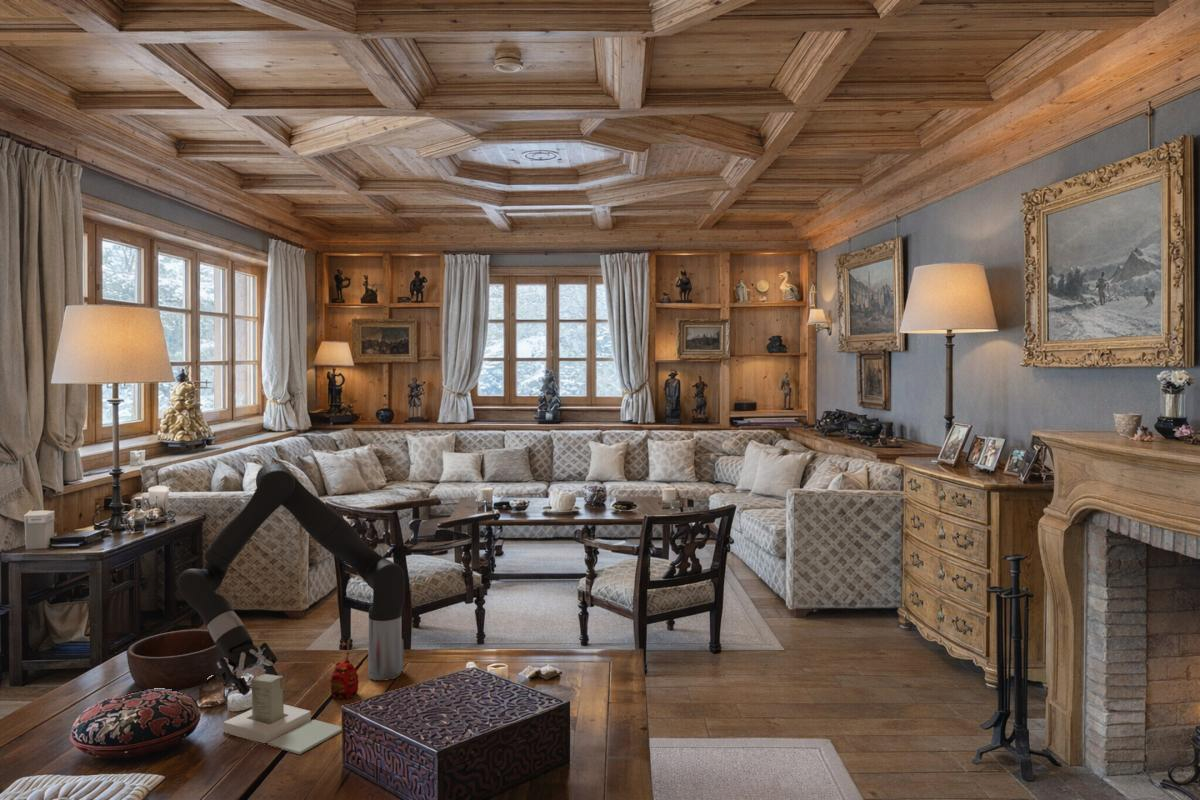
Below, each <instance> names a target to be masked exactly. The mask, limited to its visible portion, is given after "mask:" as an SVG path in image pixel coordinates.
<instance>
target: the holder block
mask: <svg viewBox="0 0 1200 800" xmlns="http://www.w3.org/2000/svg"><path fill="white" fill-rule="evenodd" d="M311 713H312V711H311V710H307V709H304V708H300V707H296V706H292V705H290V704H289V705H288V704H285V703H284V718H282V719H280V720H278V721H276V722H274V723H272V724H266V723H262V722H259V721H255V720H252V708H251V709H249V710H247V711H245V712H243V713H240V714H238V715H236V716H234V717H232V718H229V719H228V720H225V721H223V722H222V723H223V724H222V730H223V733H224V732H225V733H224V734H227V733H229V734H228V735H232V736H236V737H237V738H238V737H239V738H241V737H242V739H245V738H246V740H248V739H250V740H249V741H252V740H255V741H259V742H263V743H266V742H269V741H271V740H273V739H275V738H277V737H279V736H281V735H282V734H284V733H286V732H289V731H290V730H293V729H294V728H297V727H299V726H301V725H303V724H306V723H308V722H310V721H312V715H311ZM255 741H254V742H255Z"/></svg>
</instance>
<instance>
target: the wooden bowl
mask: <svg viewBox="0 0 1200 800" xmlns="http://www.w3.org/2000/svg"><path fill="white" fill-rule="evenodd" d="M220 658H224V657H223V656H222V654H221V653H220V651H219V649H218V648H217V646H216V644H215V643H214V641H213V639H212V638H211V636H210V633H209V631H208V629H199V628H198V629H197V628H196V629H181V630H176V631H175V630H174V631H169V632H164V633H158V634H155V635H152V636H148V637H145V638H142V639H140V640H138V641H135V642H134V643H132V644H131V645H130V646H129V647H128V648H127V649H126V659H127V666H128V670H129V673H130V676H131V678H132V679H133V681H134V682H133V683H135V684H136V685H137V686H138V687H139V688H142V689H143V690H145V689H154V688H165V689H172V690H171V691H176V690H182V689H186V688H192V687H195V686H198V685H200V684H204V683H205V681H206V680H207V678H208V677H209V676H211V675H215V676H216V675H217V674H218V673H219V672H218V670H217V668H216V666H215V665H216V663H217V662H218V661H219V660H220ZM224 659H225V658H224ZM206 682H207V681H206Z"/></svg>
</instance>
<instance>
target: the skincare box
mask: <svg viewBox="0 0 1200 800" xmlns="http://www.w3.org/2000/svg"><path fill="white" fill-rule="evenodd" d="M250 682H251V709H252V720H255V721H259V722H262V723H266V724H272V723H274V722H276V721H278V720H280V719H282V718H284V704H285V703H284V676H283V675H279V674H278V675H270V674H266V673H263V674H260V675H258V676H256V677H253V678H251V681H250Z"/></svg>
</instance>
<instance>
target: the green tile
mask: <svg viewBox="0 0 1200 800" xmlns="http://www.w3.org/2000/svg"><path fill="white" fill-rule="evenodd" d="M341 727H342V726H341V725H336V724H333V723H329V722H325V721H321V720H317V719H311V721H310V722H308V723H306V724H304V725H302V726H300V727H298V728H296V729H294V730H292V731H290V732H288V733H286V734H284V735H282V736H280V737H278V738H276V739H274V740H272V741H270V742H268V743H267V745H268V746H269V745H271V746H270V747H272V746H275V747H274V748H276V747H279V748H281V749H280V750H283V751H287V752H290V753H292V754H293V753H294V754H297V755H301V754H303V753H305V752H307V751H308V750H310V749H312V748H314V747H315V746H318V745H319V744H322V743H323V742H325V741H327V740H329V739H330V738H332V737H334V736H335V735H337V734H339V733H341V732H342V731H341ZM279 748H278V749H279Z"/></svg>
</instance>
